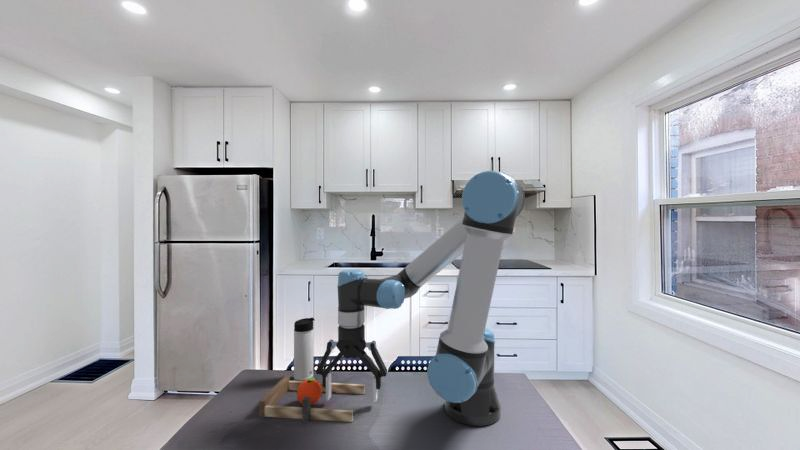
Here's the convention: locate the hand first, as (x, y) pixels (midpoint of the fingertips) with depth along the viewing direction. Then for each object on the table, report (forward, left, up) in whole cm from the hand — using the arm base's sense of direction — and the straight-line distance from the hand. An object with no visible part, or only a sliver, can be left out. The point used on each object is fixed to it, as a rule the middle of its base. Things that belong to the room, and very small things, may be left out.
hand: (351, 399), depth 99 cm
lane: (+11, 0, -2) cm, 11 cm away
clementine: (+12, 0, -2) cm, 12 cm away
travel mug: (+20, -15, -2) cm, 25 cm away
